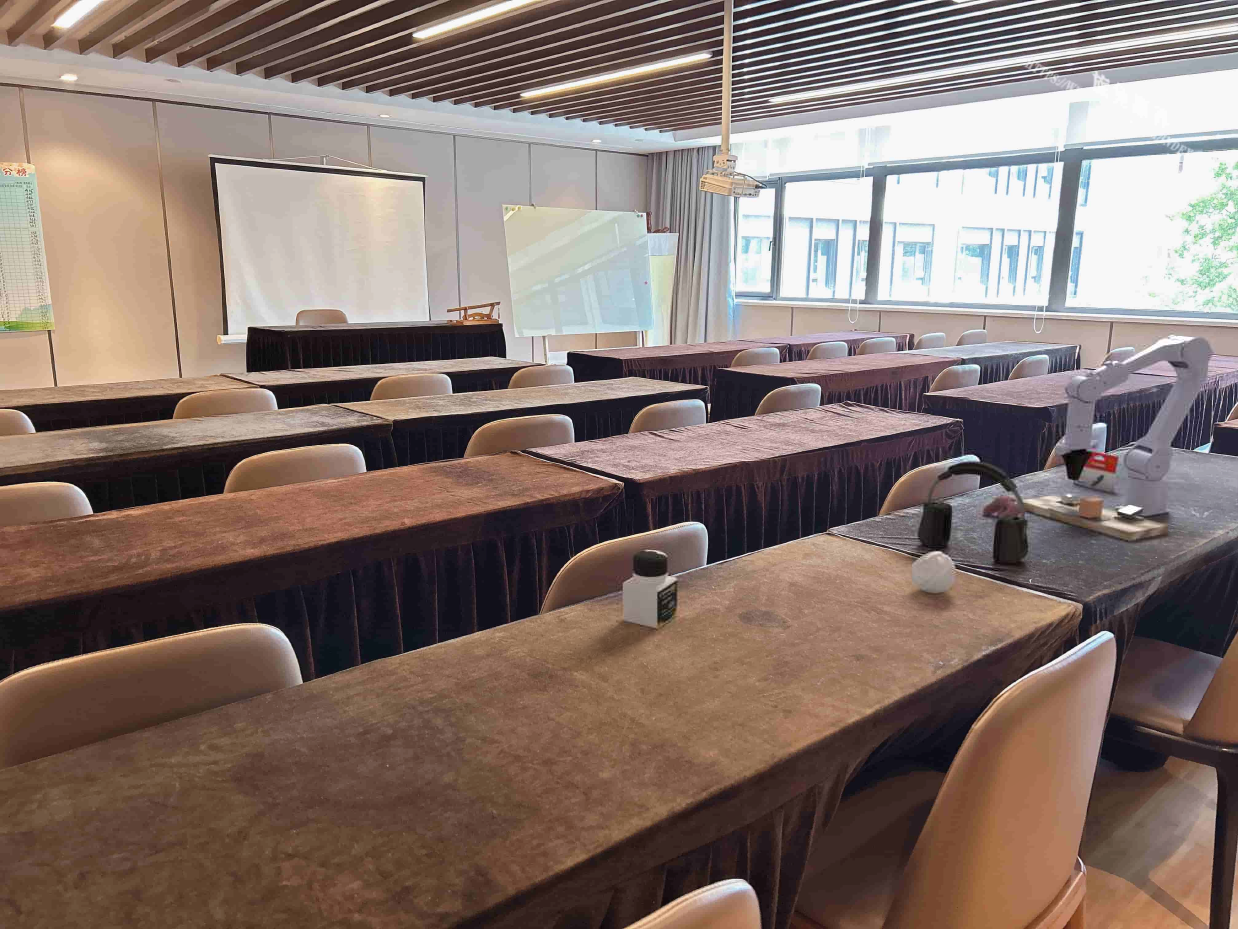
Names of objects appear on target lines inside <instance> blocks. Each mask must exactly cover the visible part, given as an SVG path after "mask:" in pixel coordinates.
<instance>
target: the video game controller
mask: <svg viewBox="0 0 1238 929" xmlns="http://www.w3.org/2000/svg"><path fill="white" fill-rule="evenodd" d="M982 513H983V515H984V516H990V515H993V514H995V513H997V516H998V518H997V520H998V519H999V518H1001V517H1003V516H1005V515H1015V516H1018V517H1020V516H1021V513H1020V506H1019V503H1018V501H1017V499H1016V497H1013V496H1010V495H1003V494H1001V495H1000V496H998V497H996V498H995V499H994V500H993V501H991V502H989V503H988V504H987V505H986V506H985V507H984V508H983V510H982Z"/></svg>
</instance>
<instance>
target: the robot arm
mask: <svg viewBox="0 0 1238 929" xmlns="http://www.w3.org/2000/svg"><path fill="white" fill-rule="evenodd" d="M1213 355H1214V351H1213V349H1212V347H1211V344H1210V343H1209V341H1208V340H1207V339H1206V338H1204V337H1193V336H1183V335H1180V334H1179V335H1178V334H1172V335H1169V336H1167V337H1166V338H1163V339H1160V340H1158V341H1157V342H1156V343H1155V344H1153V345H1151V346H1149V347H1147V348H1145V349H1144V350H1141V351H1140V352H1139V353H1137V354H1135V355H1133V356H1131V357H1129V358H1128V359H1125V360H1123V361H1121V362H1120V361H1117V360H1114V361H1111V360H1108V361H1105V362H1104V363H1103V364H1104V365H1102V366H1101V367H1098V368H1096V369H1095V370H1092V371H1091V370H1088V371H1086V372H1085V375H1084V376H1081V375H1079V376H1073V378H1071V379H1070V380H1069V381H1068V383H1067V385H1066V386H1065V387H1064V392H1065V395H1066V396H1067V398H1068V400H1067V402H1068V403H1067V404H1068V406H1067V413H1066V415H1067V416H1066V423H1065V432H1064V433H1065V434H1064V440H1060V441H1059V442H1060V443H1059V444H1057V445H1055V448H1054V454H1056V455H1060V456H1061V458H1062V460H1063V462H1064V465H1065V470H1066V475H1067V479H1068V480H1071V481H1074V480H1075V481H1076V480H1079V478H1080V476H1081V473H1082V471H1083V468H1084V466H1085V464H1086V463H1087V461H1088V460H1089V458H1090V457H1091V456H1092V452H1093V451H1092V452H1089V451H1090V450H1092V449H1095V450H1096V449H1099V442H1100V441H1099V440H1097V439H1096V440H1095V439H1092V436H1093V434H1092V433H1093V427H1094V426H1093V425H1094V419H1095V418H1094V416H1095V408H1096V401H1098V400H1099V399H1100V398H1101V396H1102V394H1104V393H1105V392H1107V391H1109V390H1111V389H1113V388H1115V387H1117V386H1120V385H1122V384H1123V383H1126V382H1127V381H1128V379H1129V377H1130V375H1131V374H1133V373H1136V372H1138V371H1141V370H1143V369H1145V368H1147V367H1150V366H1152V365H1155V364H1157V363H1159V362H1167V363H1168V364H1169V365H1170V366H1171V367H1172V368H1173V370H1174V372H1175V374H1176V376H1177V379H1176V380H1175V382H1174V384H1173V386H1172V388H1171V389H1170V391H1169V393H1168V395H1167V396H1166V399H1164V400H1165V401H1164V402H1163V404H1162V405H1161V408H1160V410H1159V412H1157V415H1156V417H1155V419H1154V421H1153V422H1152V424H1151V425H1150V428H1149V430H1148V432H1147V433H1146V434H1145V436H1143V437H1141V438H1139V439H1138V440H1136V441H1135V443H1134V445H1133V446H1132V447H1131V448H1129V449H1127V451H1126V452H1125V454H1124V456H1123V459H1122V462H1123V466H1124V467H1125V468H1126V469H1127V471H1126V474H1127V478H1126V485H1125V492H1124V493H1125V494H1124V501H1123V505H1119V506H1115V507H1114V509H1116V510H1117V511H1118V510H1120V509H1122V508H1125V507H1127V506H1129V505H1131V506H1135V507H1139V508H1143V513H1141V514H1139V515H1138V516H1140V517H1149V516H1153V515H1154V516H1155V515H1160V514H1165V513H1169V512H1170V510H1169V509H1167V504H1168V497H1169V496H1168V495H1169V489H1170V486H1169V482H1168V480H1167V479H1166V478H1165V476H1166V475H1167V474H1168V473H1169V470H1170V469H1171V461H1172V458H1173V457H1174V452H1173V449H1172V447H1171V446H1172V445H1171V444H1172V442H1173V440H1174V438H1175V437H1176V435H1177V432H1178V431H1179V429H1180V428H1181V426H1182V424H1183V422H1184V420H1185V418H1186V417H1187V415H1188V413H1189V411H1190V409H1191V408H1192V406H1193V404H1194V402H1195V400H1196V399H1197V397H1198V395H1199V393H1200V391H1201V390H1202V388H1203V386H1204V384H1205V382H1206V381H1207V378H1208V372H1209V364H1210V362H1209V361H1210V360H1212V359H1211V358H1212V356H1213ZM1086 450H1087V451H1086Z"/></svg>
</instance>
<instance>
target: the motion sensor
mask: <svg viewBox="0 0 1238 929" xmlns="http://www.w3.org/2000/svg"><path fill="white" fill-rule="evenodd" d="M910 575H911V579H912V582H913V583H914V584H915V585H916V587H917V588H919V590H920V589H921V591H923V592H926V593H929V594H939V593H943V592H945V591H946V592H947V590H948V589H949V588H950V587H951V586H952V584H954V581H955V577H956V566H955V563H954V562H953V560H952V559H951V557H950V556H949V555H948V554H944V552H942V551H941V550H940V551H930V552H928V553H925V554H924V555H921V556H920V557H918V559H916V560H915V561H914V562H913V563H912V565H911V567H910Z"/></svg>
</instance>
